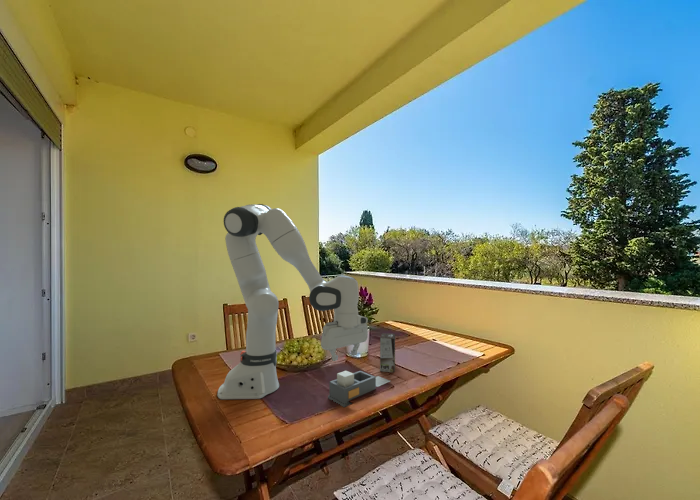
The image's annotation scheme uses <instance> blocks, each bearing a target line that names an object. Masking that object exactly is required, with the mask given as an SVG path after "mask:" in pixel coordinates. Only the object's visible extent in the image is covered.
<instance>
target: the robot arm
mask: <svg viewBox="0 0 700 500" xmlns="http://www.w3.org/2000/svg"><path fill="white" fill-rule="evenodd" d="M223 226H224V228H225V230H226V232H227V233H226V234H225V237H224V238H225V240H224V241H225V245H226V251H227V255H228V257H229V261H230V264H231V265H232V266H231V267H232V269H233V272H234V274H235V277H236V280H237V283H238V285H239V289H240V292H241V294H242V298H243V300H244V303H245V307H246V308H247V325H246V326H247V327H246V333H245V334H246V335H245V336H246V337H245V338H246V339H245V340H246V341H245V342H246V343H245V347H246V348H245V350H242V351H241V352H240V353H239V354H240V362H239V363H238V364H237V365H236V366H234V367H233V368H231V370H229V372H227V374H226V376H225V379H224V382H223V383H222V384H221V385H220V386H219V388H218V390H217V397H218V399H220V400H256V399H257V400H259V399H260V400H261V399H263V398H264V397H265V396H267V395H269V394H272V393H274V392H276V391H277V390H278V389H279V388H280V383H279V380H278V379H279V378H278V375H277V368H276V367H277V363H278V360H277V359H278V358H277V356H278V353H277V350H276V332H277V331H276V330H277V323H278V314H279V313H278V312H279V304H280V303H279V299H278V296H277V294H275V292H272V290H271V287H270V283H269V280H268V276H267V270H266V268H265V265H264V263H263V259H262V257H261V254H260V251H259V248H258V246H257V243H256V238H257V236H261V235H262V234H263V235H265V237H266V238H267V240H268V242H269V243H270V245H271V247H272V248H273V249H274V251H275V252H276V253H277V254H278V255H279V257H280V258H281V259H282V260H284V261H285V262H287V263H288V264H290V265H292V266H293V267H294V268H295V269H296V271H298V273H299V274H300V275H301V277H302V279H303V280H304V282H305V283H306V285H307V286H308V288H309V295H308V296H309V297H308V299H309V300H308V301H309V303H310V306H311V307H312V308H313V309H314V310H316V311H321V312H325V311H331V310H333V311H334V312H333V321H330V322H326V323H325V324H324V326H323V327H322V334H321V340H320V346H321V348H322V349H323V350H326V351H329V353H330V354H331V360H332V362H336V361H338V360H339V355H338V354H336V352H337V349H340V348H344V347H348V346H353V348H352V349H351V350H350V355H351V356H352V357H354V356H357V355H358V350H359V348H360V344H361V343H365V342H366V341H367V339H368V334H369V332H368V331H369V330H368V329H369V327H368V321H369V319H368V317H365V316H362V315H360V314H359V309H358V303H359V300H360V299H359V295H360V294H359V289H360V288H359V282H358V280H356V278H354V277H352V276H348V275H343V274H339V275H337V276H336V277H334V278H332V279H331V280H329V281H327V280H326V279H324V278H323V276H322V275H321V274H320V272H319V271H318V269H317V268H316V266H315V265H314V263H313V262H312V260H311V257H310V255H309V252H308V248H307V245H306V243H305V242H306V241H305V240H304V238H303V236H302V234H301V232H300V230H299V229H298V227H297V226H296V224H295V223H294V221H293V220H292V219H291V218H290V217H289V215H287V213H286V212H285V211H284V210H282V208H272V207H270V206H268V205H266V204H263V203H258V204H255V203H253V204H246V205H241V206H236V207H232V208H230V209H229V210H227V211H226V212H225V214H224V216H223Z"/></svg>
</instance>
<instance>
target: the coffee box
mask: <svg viewBox="0 0 700 500" xmlns="http://www.w3.org/2000/svg"><path fill="white" fill-rule="evenodd" d="M379 341H380V342H379V344H380V346H379V348H380V349H379V356H380V357H379V371H380V372H383V373H385V372H386V373H395V370H396V334H395V333H385V332H384V333H381V335H380V339H379Z"/></svg>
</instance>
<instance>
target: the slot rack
mask: <svg viewBox="0 0 700 500" xmlns="http://www.w3.org/2000/svg"><path fill="white" fill-rule="evenodd" d="M352 373H353V374H354V384H352V385H350V386H347V387H343V386H341V385H339V384H337V378H336V379H334V380H333V379H332V380H331V381H329V389H328V390H329V392H328V393H329V395H327V398H328V400H330V401H332V400H333V403H335V402H336V404H337V403H338V404H337V405H339V404H340V406H341V407H343V408H346V407H348V406H351V405H353V403H352V402H351V400H354V399H356V398H358V397H360V396H363V395H365V394H368V393H370V392H372V391H374V390H376V389H377V388H379V387H381V386H383V385H385V384H387V383H389V382H390V383H391V380H390V379H387V378H384V377H382V376H379V375H377V376H375V375H372V374H370V373H368V372H365V371H362V370H359V371H355V372H352Z"/></svg>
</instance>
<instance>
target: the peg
mask: <svg viewBox="0 0 700 500" xmlns="http://www.w3.org/2000/svg"><path fill="white" fill-rule="evenodd" d="M353 373H354V372H350V371H348V370H344V371H341V372H338V373H336V379H337V384H339V385H341V386H343V387H347V386H350V385H352V384H354V374H353Z"/></svg>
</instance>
